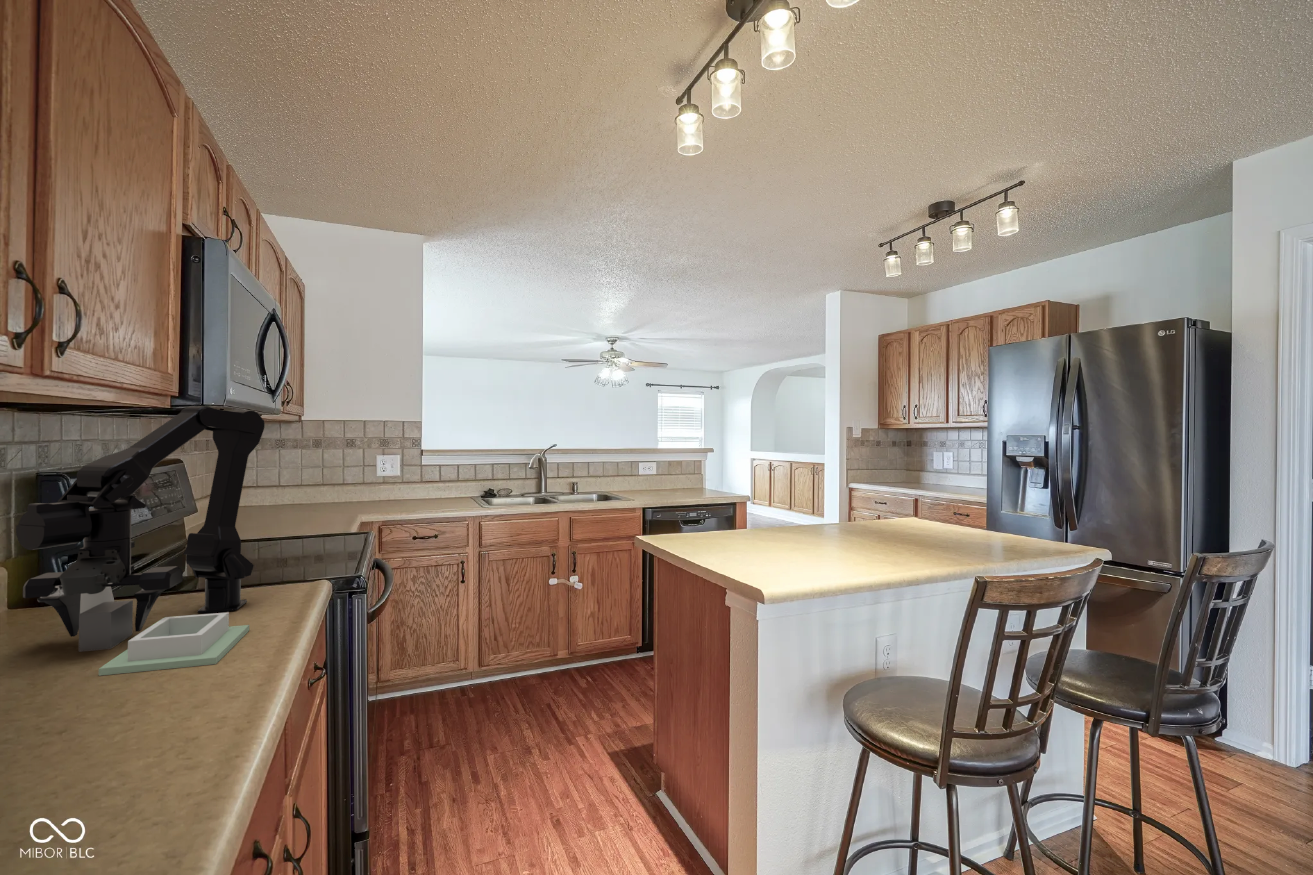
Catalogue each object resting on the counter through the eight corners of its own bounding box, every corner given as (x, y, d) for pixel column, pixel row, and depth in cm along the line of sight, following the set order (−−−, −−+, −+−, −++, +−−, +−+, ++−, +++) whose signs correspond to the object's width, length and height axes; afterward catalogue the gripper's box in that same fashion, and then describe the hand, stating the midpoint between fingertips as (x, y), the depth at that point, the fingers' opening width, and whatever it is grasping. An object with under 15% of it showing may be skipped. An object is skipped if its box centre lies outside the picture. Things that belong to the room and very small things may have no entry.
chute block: (102, 637, 99) (103, 602, 99) (132, 635, 101) (132, 600, 101) (78, 652, 93) (79, 614, 93) (110, 649, 94) (110, 611, 94)
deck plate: (151, 638, 99) (151, 615, 99) (249, 630, 103) (249, 607, 103) (98, 675, 84) (98, 647, 84) (216, 663, 88) (216, 637, 88)
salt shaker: (65, 626, 104) (66, 553, 104) (107, 617, 109) (108, 548, 109) (79, 631, 102) (80, 556, 102) (121, 622, 107) (122, 551, 107)
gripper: (-3, 550, 86) (-4, 657, 86) (154, 544, 92) (153, 643, 92) (46, 538, 96) (45, 633, 96) (184, 533, 103) (183, 622, 103)
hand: (106, 633), depth 97 cm, fingers open, 8 cm apart
